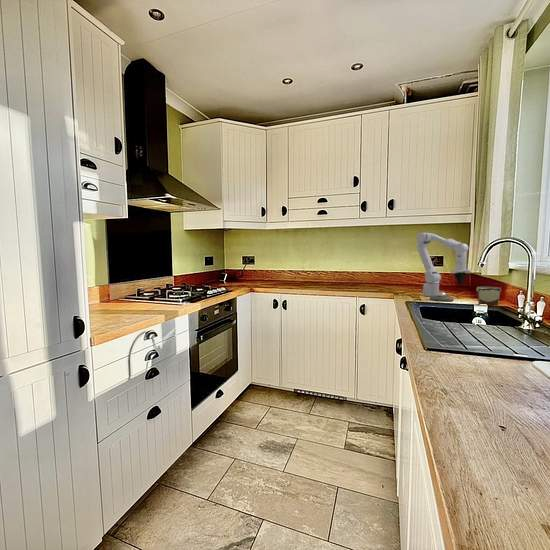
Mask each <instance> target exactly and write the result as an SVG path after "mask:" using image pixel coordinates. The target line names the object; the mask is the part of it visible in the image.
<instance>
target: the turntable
mask: <svg viewBox="0 0 550 550" xmlns="http://www.w3.org/2000/svg"><path fill="white" fill-rule="evenodd" d="M429 300H432V301H437V302H449V301H450V302H452V301H455V300H454V296H450V295H446V297H437V295H433V296H430V297H429Z"/></svg>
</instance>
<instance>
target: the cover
mask: <svg viewBox="0 0 550 550" xmlns="http://www.w3.org/2000/svg"><path fill="white" fill-rule="evenodd" d="M446 296H447V293H446V292H444V291H440V290H439V292H438V293H437V297H446Z"/></svg>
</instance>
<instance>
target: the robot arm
mask: <svg viewBox="0 0 550 550" xmlns="http://www.w3.org/2000/svg"><path fill="white" fill-rule="evenodd" d="M415 239H416V249H417V252H418V254H419V257H420V258H421V259H420V260H421V262H422V264H423V267H424V270H425V272H424V280H425V281H426V282H425V283H424V284H423V285H422V296H423V295H425V297H429V296H433V295H437V293H438V292H440V282H441V280H442V275H441V274H440V273H439V271H438V270H437V269H436V268H435V266H434V264H433V262H432V259H431V257H430V254H429V251H428V249H427V246H429V244H430V243H431V242H432V241H435V242H438V243H440V244H443V245H444V247H445V248H447V249H450V250H452V251H454V252H455V269H450V274H453V275H454V276H455V278H456V281H457V285H458V286H459V285H462V286H463V284H464V281H465V279H466V277H467V276H468V273H469V274H470V273H471V272H472V271H471V269H467V254H468V251H469V249H470V248H469V245H468V244H466V243H464V242H463V243H462V241H457V240H455V239H454V238H447V239H446V238H444V237H442V236H439V235H437V234H436V233H431V232H424V231H423V232H419V233H418V234H417V235H416V237H415Z"/></svg>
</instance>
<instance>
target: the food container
mask: <svg viewBox="0 0 550 550" xmlns="http://www.w3.org/2000/svg"><path fill="white" fill-rule="evenodd" d="M475 291H476V292H477V301H478V303H477V304H478V305H479V304H487V305H498V306H499V301H500V294H501V292H502V289H501V287H497V286H477V287H476V290H475Z"/></svg>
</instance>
